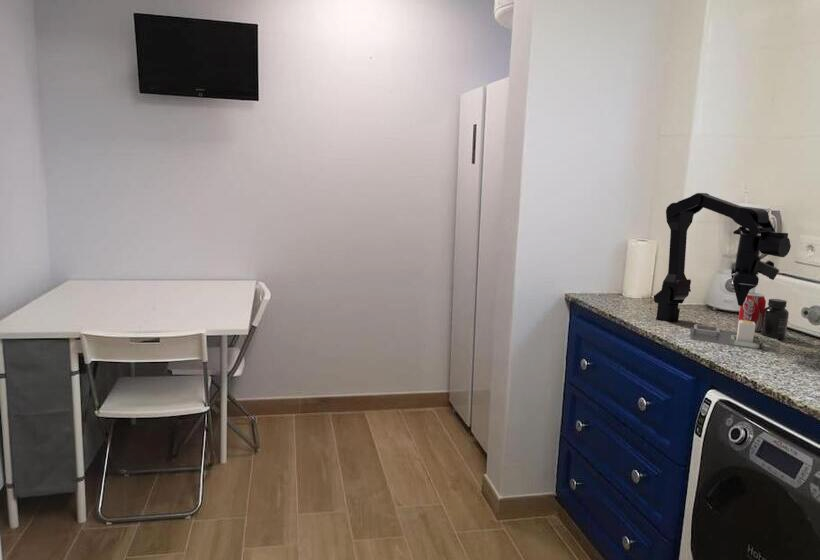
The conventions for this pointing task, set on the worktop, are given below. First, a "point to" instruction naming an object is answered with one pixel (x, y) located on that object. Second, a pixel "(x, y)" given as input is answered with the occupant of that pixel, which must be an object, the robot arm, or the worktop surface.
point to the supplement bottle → (775, 319)
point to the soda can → (753, 309)
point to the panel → (720, 337)
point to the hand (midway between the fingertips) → (739, 302)
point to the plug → (745, 331)
